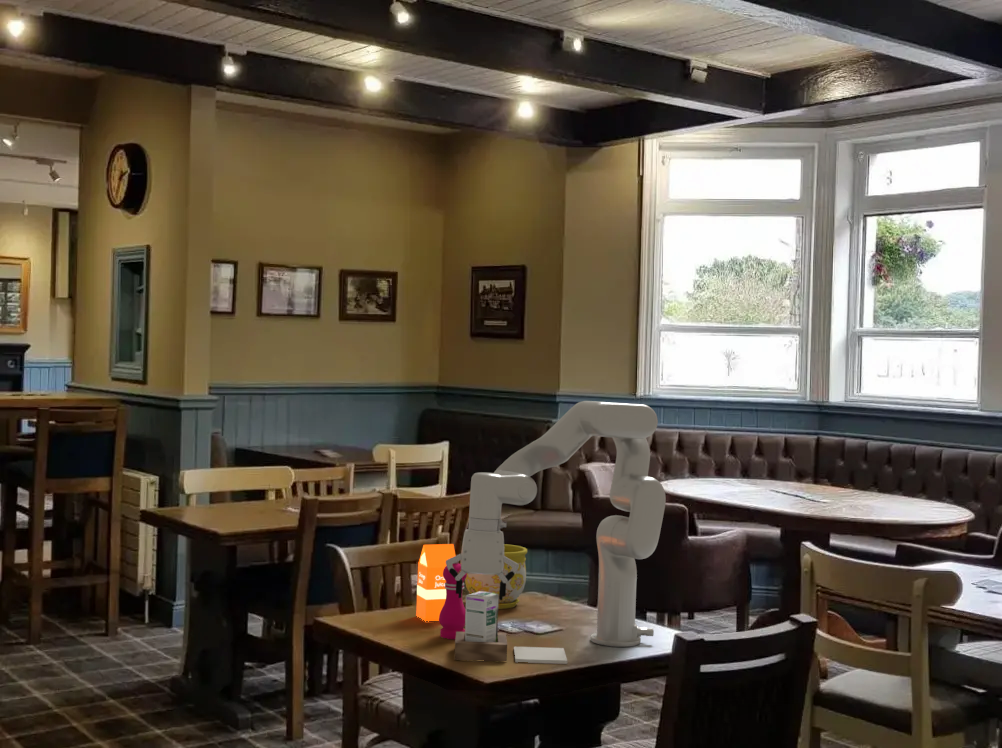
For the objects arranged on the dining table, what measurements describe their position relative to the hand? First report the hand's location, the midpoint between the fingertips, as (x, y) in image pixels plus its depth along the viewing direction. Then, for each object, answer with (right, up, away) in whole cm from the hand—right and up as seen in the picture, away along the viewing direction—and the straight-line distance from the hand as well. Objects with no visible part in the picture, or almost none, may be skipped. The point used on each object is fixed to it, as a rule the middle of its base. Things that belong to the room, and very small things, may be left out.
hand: (480, 598), depth 265 cm
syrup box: (0, -14, 0) cm, 14 cm away
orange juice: (-13, -14, +39) cm, 43 cm away
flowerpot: (+3, -14, +60) cm, 62 cm away
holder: (0, -13, 0) cm, 13 cm away
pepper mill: (-7, -14, +18) cm, 24 cm away
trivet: (+14, -14, 0) cm, 20 cm away
